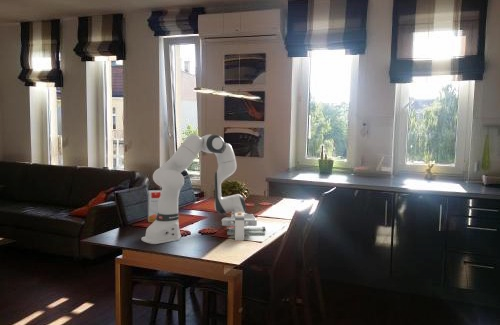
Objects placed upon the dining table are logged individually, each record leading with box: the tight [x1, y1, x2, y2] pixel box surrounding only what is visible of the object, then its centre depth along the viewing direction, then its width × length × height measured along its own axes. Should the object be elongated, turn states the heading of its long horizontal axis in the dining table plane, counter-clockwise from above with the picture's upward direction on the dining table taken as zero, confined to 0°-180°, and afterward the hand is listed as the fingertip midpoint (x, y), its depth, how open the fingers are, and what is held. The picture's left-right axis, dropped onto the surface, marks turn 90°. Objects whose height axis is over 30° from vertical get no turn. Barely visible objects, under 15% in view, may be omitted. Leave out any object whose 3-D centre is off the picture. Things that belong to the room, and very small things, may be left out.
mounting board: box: [226, 230, 266, 236], centre depth 258 cm, size 22×10×2 cm, turn 93°
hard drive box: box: [147, 189, 162, 223], centre depth 283 cm, size 16×8×20 cm, turn 105°
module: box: [234, 212, 245, 241], centre depth 244 cm, size 7×5×15 cm
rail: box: [226, 226, 266, 232], centre depth 258 cm, size 23×5×2 cm, turn 93°
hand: (239, 225), depth 243 cm, fingers closed on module, 5 cm apart
